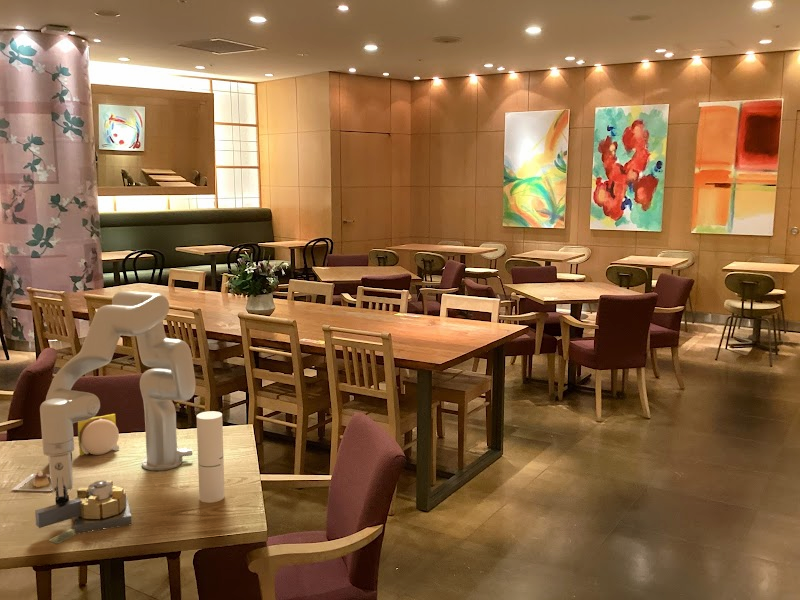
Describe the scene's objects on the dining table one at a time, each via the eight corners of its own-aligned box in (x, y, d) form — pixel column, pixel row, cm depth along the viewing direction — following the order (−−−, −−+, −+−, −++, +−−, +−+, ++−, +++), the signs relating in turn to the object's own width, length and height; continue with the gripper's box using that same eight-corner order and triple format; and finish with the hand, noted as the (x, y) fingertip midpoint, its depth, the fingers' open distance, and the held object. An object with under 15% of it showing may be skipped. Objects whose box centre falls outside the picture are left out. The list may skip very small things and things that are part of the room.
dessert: (32, 477, 233) (31, 462, 232) (70, 478, 232) (69, 463, 231) (11, 493, 221) (9, 477, 220) (51, 494, 220) (50, 478, 220)
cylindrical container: (229, 494, 221) (227, 412, 216) (215, 504, 214) (213, 420, 210) (208, 490, 223) (205, 410, 219) (194, 500, 216) (191, 417, 212)
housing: (127, 503, 213) (125, 469, 212) (132, 530, 198) (130, 494, 196) (48, 516, 205) (46, 480, 204) (48, 545, 189) (45, 507, 188)
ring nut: (113, 495, 212) (112, 476, 211) (132, 509, 204) (131, 490, 203) (29, 520, 197) (28, 500, 196) (46, 536, 188) (44, 515, 187)
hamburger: (84, 460, 245) (82, 425, 243) (77, 452, 251) (75, 418, 249) (122, 452, 252) (120, 418, 250) (114, 445, 259) (112, 412, 257)
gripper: (73, 453, 192) (78, 520, 195) (74, 434, 205) (78, 497, 208) (41, 457, 189) (46, 525, 192) (43, 438, 202) (48, 501, 206)
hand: (63, 510), depth 200 cm, fingers closed
